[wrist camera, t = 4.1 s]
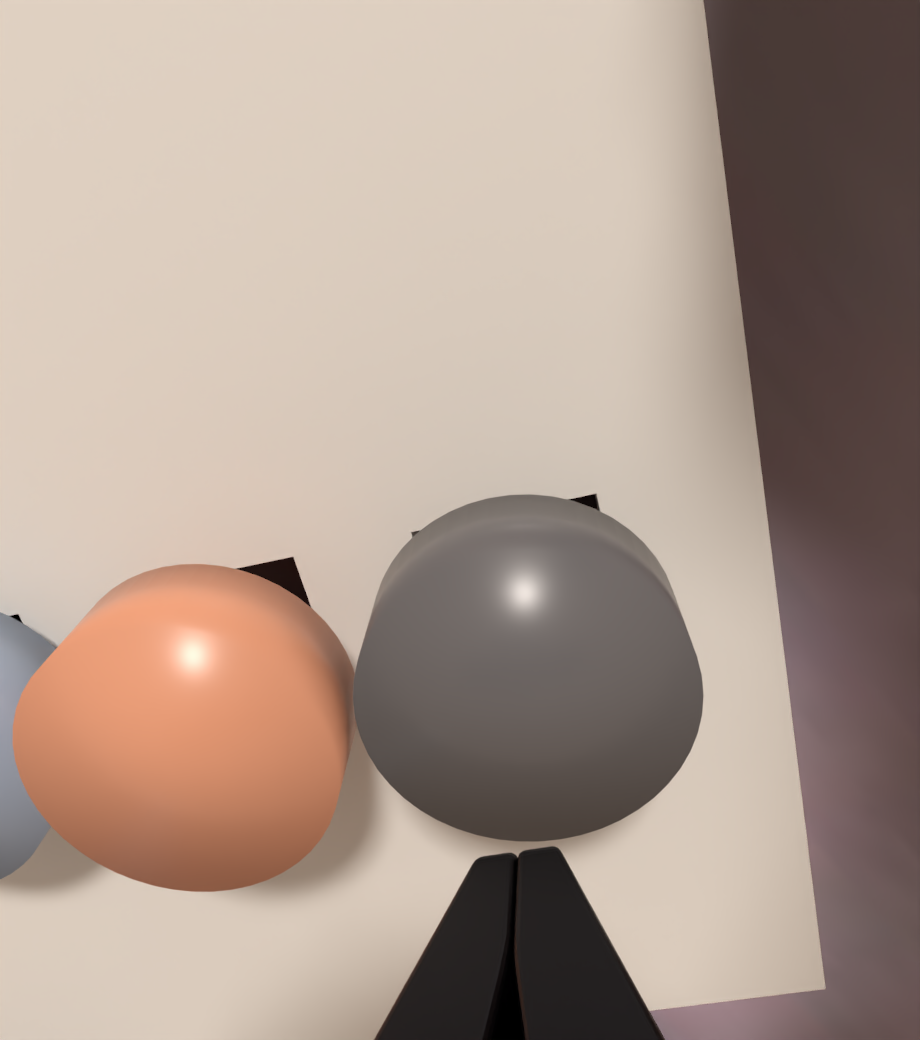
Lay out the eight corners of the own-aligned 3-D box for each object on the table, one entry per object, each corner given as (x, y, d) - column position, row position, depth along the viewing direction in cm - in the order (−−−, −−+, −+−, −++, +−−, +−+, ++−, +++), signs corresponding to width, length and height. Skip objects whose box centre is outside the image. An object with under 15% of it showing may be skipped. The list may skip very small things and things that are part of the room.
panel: (650, -164, 12) (675, -220, 10) (795, 908, 19) (825, 988, 18) (-441, 175, 15) (-578, 180, 13) (58, 1009, 22) (17, 1089, 20)
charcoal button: (634, 424, 14) (675, 514, 10) (678, 670, 15) (724, 814, 12) (354, 485, 14) (308, 588, 11) (426, 715, 16) (404, 863, 13)
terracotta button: (330, 490, 14) (278, 595, 11) (404, 718, 16) (379, 867, 13) (75, 546, 15) (-45, 660, 12) (173, 760, 17) (92, 911, 14)
